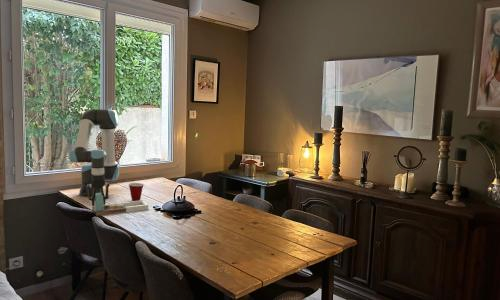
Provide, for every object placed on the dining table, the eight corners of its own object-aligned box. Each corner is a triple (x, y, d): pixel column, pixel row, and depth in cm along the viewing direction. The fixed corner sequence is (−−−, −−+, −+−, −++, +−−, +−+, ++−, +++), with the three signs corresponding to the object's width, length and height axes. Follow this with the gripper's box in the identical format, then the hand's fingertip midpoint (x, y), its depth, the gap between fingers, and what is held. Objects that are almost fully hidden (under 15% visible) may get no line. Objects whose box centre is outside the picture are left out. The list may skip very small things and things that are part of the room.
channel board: (92, 210, 247) (92, 206, 247) (121, 206, 257) (121, 203, 257) (96, 215, 237) (96, 211, 236) (126, 212, 246) (126, 208, 246)
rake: (94, 210, 245) (93, 193, 244) (100, 209, 248) (100, 192, 246) (96, 213, 239) (96, 196, 237) (103, 212, 241) (103, 195, 239)
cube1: (108, 210, 249) (108, 204, 248) (114, 209, 251) (114, 203, 251) (110, 212, 245) (110, 205, 245) (116, 211, 248) (116, 205, 247)
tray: (121, 206, 257) (121, 202, 257) (142, 204, 265) (142, 200, 264) (126, 212, 246) (126, 207, 246) (148, 209, 254) (148, 204, 253)
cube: (116, 209, 250) (116, 204, 250) (122, 209, 252) (122, 203, 252) (117, 211, 247) (117, 205, 246) (123, 211, 248) (123, 205, 248)
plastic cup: (146, 200, 275) (146, 184, 273) (132, 202, 268) (131, 186, 267) (140, 197, 283) (140, 181, 282) (126, 199, 276) (126, 183, 275)
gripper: (84, 176, 232) (85, 213, 235) (113, 174, 242) (113, 210, 244) (82, 174, 239) (83, 210, 242) (110, 172, 248) (111, 207, 251)
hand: (98, 210), depth 243 cm, fingers closed on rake, 4 cm apart
